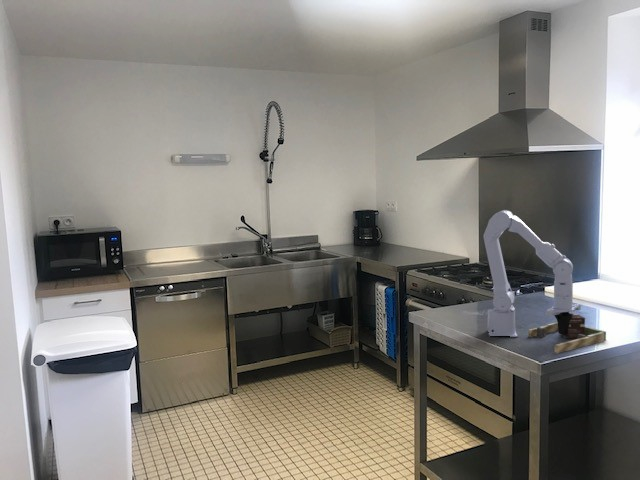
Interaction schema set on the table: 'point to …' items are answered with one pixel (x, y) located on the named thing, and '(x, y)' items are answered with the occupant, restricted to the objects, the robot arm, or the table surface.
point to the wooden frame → (591, 338)
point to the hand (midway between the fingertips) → (563, 333)
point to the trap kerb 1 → (540, 332)
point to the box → (575, 327)
